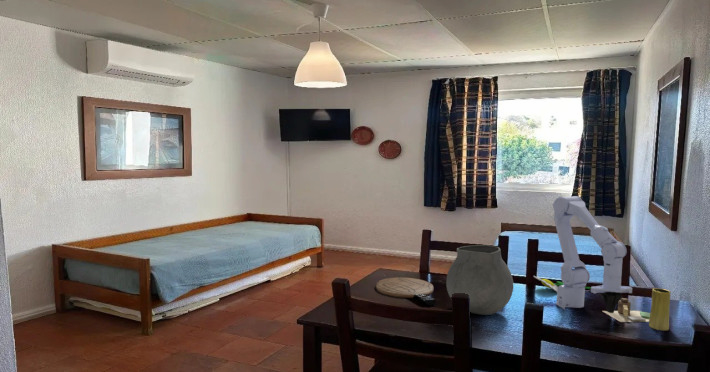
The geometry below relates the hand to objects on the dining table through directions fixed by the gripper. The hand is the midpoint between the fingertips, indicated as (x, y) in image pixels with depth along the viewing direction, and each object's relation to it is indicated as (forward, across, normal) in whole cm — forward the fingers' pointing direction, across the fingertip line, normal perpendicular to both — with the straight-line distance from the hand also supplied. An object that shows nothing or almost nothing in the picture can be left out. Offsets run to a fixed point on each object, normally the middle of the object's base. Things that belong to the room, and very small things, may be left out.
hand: (610, 312), depth 170 cm
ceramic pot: (+3, -46, +11) cm, 47 cm away
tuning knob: (+2, +7, +2) cm, 8 cm away
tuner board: (+3, +9, +2) cm, 10 cm away
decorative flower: (+4, +3, +37) cm, 37 cm away
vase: (+4, +12, -9) cm, 15 cm away
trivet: (+4, -69, +40) cm, 79 cm away
